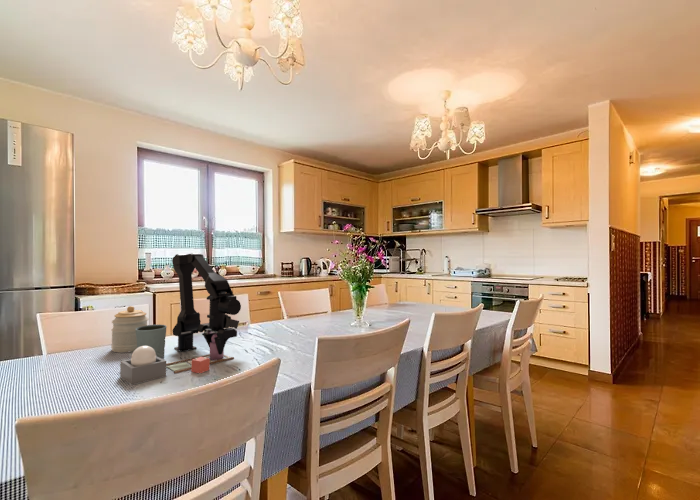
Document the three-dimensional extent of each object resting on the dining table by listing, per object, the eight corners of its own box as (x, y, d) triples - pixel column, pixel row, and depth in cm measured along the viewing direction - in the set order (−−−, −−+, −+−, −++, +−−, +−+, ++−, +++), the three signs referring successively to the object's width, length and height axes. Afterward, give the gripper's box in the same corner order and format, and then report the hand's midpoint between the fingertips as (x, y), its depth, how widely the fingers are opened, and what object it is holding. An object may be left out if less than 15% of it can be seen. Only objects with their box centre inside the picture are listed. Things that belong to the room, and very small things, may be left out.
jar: (154, 347, 147) (155, 305, 147) (120, 355, 136) (121, 309, 136) (138, 343, 154) (139, 302, 154) (104, 349, 143) (105, 306, 143)
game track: (160, 366, 124) (160, 364, 124) (218, 353, 140) (218, 351, 140) (174, 373, 117) (174, 371, 117) (233, 358, 134) (233, 357, 134)
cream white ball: (127, 367, 113) (127, 346, 113) (150, 362, 118) (151, 342, 118) (135, 372, 108) (136, 350, 108) (159, 366, 114) (159, 345, 114)
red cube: (191, 371, 119) (191, 358, 119) (200, 368, 122) (201, 355, 122) (200, 373, 117) (200, 360, 117) (209, 369, 121) (209, 356, 121)
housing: (120, 377, 113) (120, 361, 113) (153, 369, 120) (153, 354, 120) (131, 384, 106) (132, 368, 106) (166, 376, 114) (166, 360, 114)
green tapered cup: (171, 357, 134) (172, 326, 134) (146, 364, 125) (147, 331, 125) (154, 353, 138) (154, 323, 139) (128, 360, 129) (129, 328, 129)
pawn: (207, 358, 134) (207, 333, 134) (219, 355, 137) (219, 331, 138) (213, 361, 130) (214, 335, 131) (226, 358, 134) (226, 333, 134)
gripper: (249, 312, 134) (249, 353, 134) (223, 307, 146) (222, 344, 146) (223, 316, 126) (222, 359, 126) (197, 310, 138) (196, 350, 138)
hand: (216, 352), depth 134 cm, fingers closed on pawn, 5 cm apart
